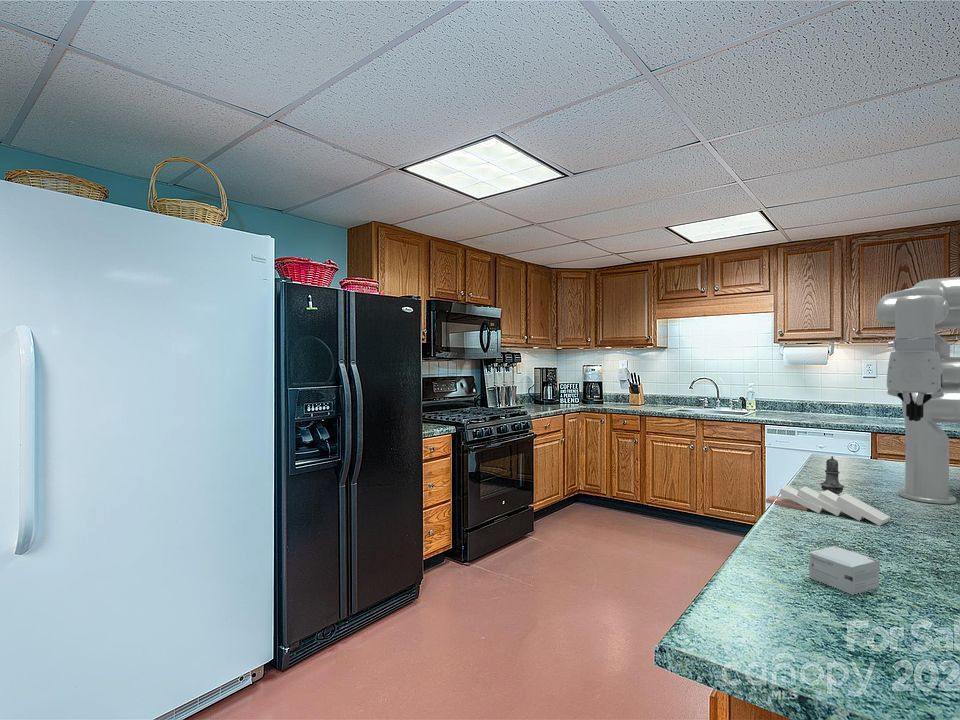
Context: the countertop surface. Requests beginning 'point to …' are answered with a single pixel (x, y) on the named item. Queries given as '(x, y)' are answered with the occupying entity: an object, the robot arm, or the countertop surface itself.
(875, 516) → the domino
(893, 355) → the robot arm
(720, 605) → the countertop surface
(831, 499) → the domino
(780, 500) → the end domino
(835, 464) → the dark grey ornamental finial
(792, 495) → the domino
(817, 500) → the domino
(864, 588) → the small box
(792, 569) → the countertop surface
